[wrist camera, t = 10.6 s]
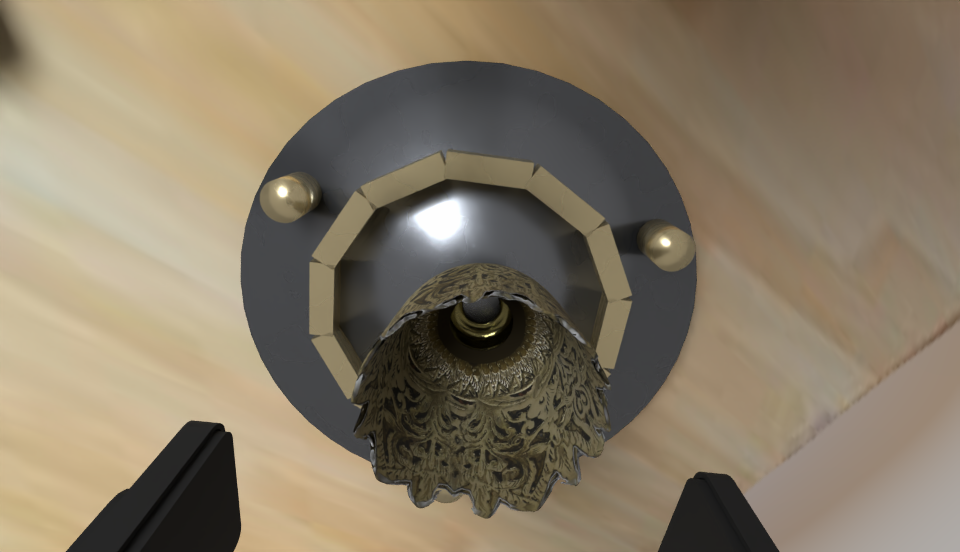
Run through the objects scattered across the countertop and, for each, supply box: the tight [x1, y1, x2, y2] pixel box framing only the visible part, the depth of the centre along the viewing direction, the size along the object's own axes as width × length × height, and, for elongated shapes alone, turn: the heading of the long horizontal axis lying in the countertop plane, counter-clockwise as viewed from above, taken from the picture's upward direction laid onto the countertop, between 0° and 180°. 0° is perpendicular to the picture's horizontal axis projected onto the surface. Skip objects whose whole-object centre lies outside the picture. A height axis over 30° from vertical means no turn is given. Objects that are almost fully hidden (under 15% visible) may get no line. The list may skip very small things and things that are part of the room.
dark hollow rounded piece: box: [351, 263, 611, 518], centre depth 17 cm, size 8×7×8 cm
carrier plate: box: [241, 61, 697, 503], centre depth 20 cm, size 20×20×3 cm
